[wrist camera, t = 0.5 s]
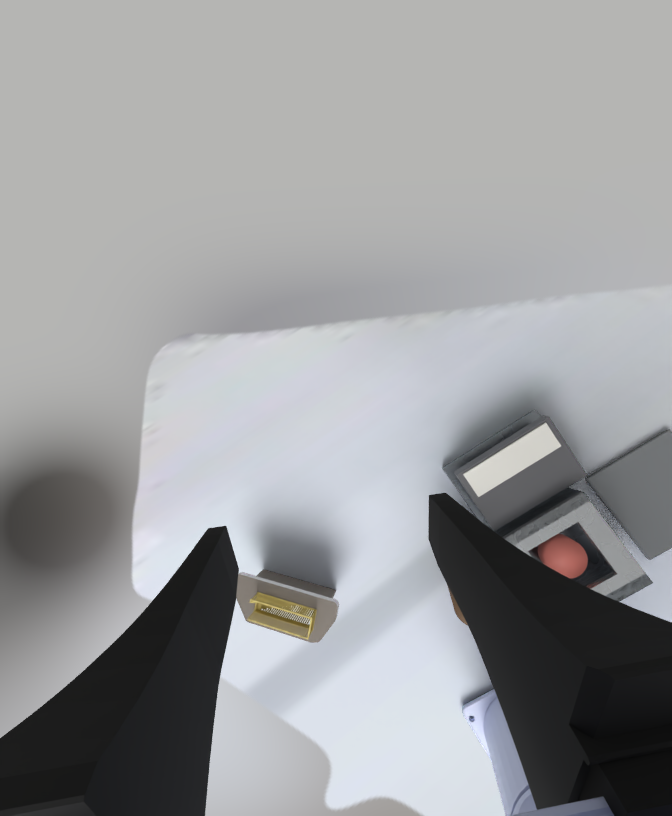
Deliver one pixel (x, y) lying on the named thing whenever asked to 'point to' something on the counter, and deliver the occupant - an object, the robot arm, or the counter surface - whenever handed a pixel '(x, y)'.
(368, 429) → the counter surface
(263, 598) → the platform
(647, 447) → the mat
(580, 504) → the silver metal box
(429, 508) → the robot arm
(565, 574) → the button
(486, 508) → the rocker
